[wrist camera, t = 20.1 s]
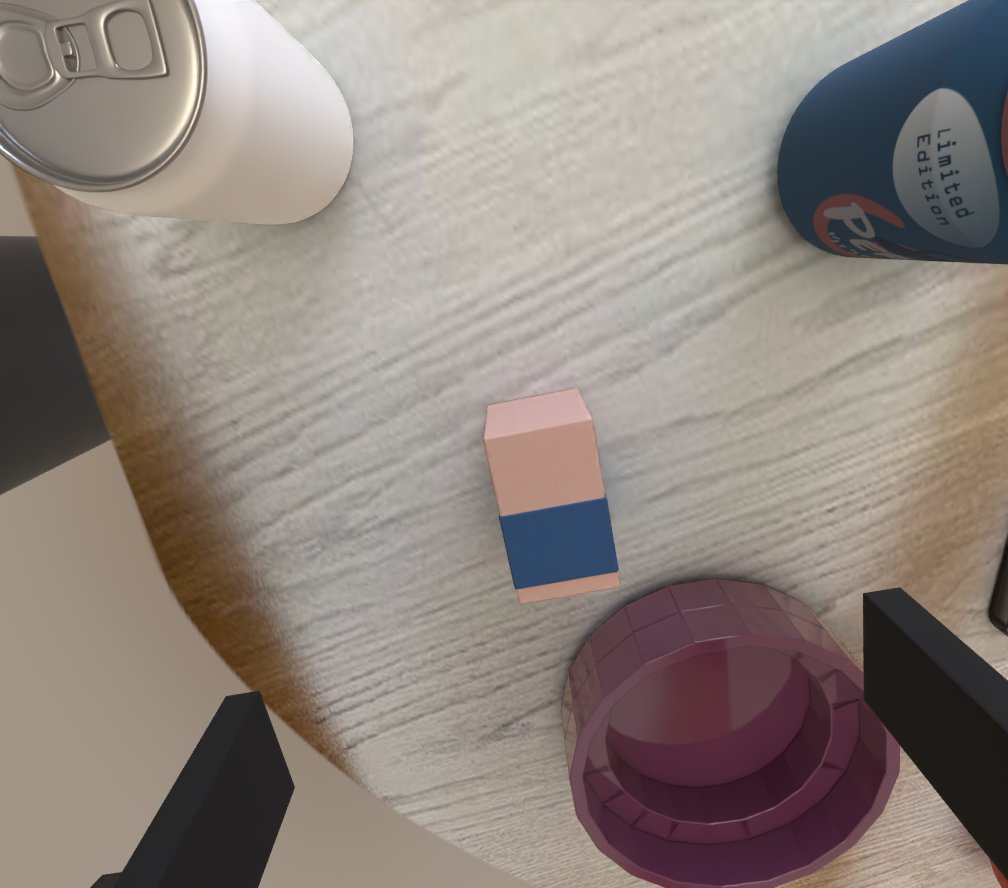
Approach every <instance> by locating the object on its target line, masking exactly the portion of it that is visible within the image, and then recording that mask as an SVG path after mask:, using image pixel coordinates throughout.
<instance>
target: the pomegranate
mask: <svg viewBox="0 0 1008 888" xmlns="http://www.w3.org/2000/svg"><path fill="white" fill-rule="evenodd" d="M990 861H991V865H992V868H993V871H994V874H995V876H996V878H997V880H998V882H999V883H1000V885H1001V887H1002V888H1008V881H1007V879H1006V878H1005V877H1004V876H1003V874H1002V873H1001V872H1000V871H999V869H998V868H997V867H996V866H995V864H994V863H993V862H992V860H991V859H990Z"/></svg>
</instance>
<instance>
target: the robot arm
mask: <svg viewBox="0 0 1008 888" xmlns="http://www.w3.org/2000/svg"><path fill="white" fill-rule="evenodd" d="M863 653H864V701H865V702H866V703H867V704H868V706H869V707H870V708H871V709H872V711H873V712H874V713H875V715H876V716H877V717H878V718H879V720H880V721H881V722H882V723H883V725H884V726H885V727H886V728H887V730H888V731H889V732H890V733H891V735H892V736H893V737H894V738H895V740H896V741H897V742H898V743H899V745H900V746H901V747H902V748H903V750H904V751H905V752H906V754H907V755H908V756H909V757H910V759H911V760H912V761H913V762H914V764H915V765H916V766H917V767H918V769H919V770H920V771H921V772H922V774H923V775H924V776H925V777H926V779H927V780H928V781H929V782H930V784H931V785H932V786H933V788H934V789H935V790H936V791H937V793H938V794H939V795H940V796H941V798H942V799H943V800H944V801H945V803H946V804H947V805H948V806H949V808H950V809H951V810H952V811H953V813H954V814H955V815H956V816H957V818H958V819H959V820H960V821H961V823H962V824H963V825H964V827H965V828H966V829H967V830H968V832H969V833H970V834H971V835H972V837H973V838H974V839H975V840H976V842H977V843H978V844H979V845H980V847H981V848H982V849H983V850H984V852H985V853H986V854H987V855H988V857H989V858H990V859H991V860H992V862H993V863H994V864H995V866H996V867H997V868H998V869H999V871H1000V872H1001V873H1002V874H1003V876H1004V877H1005V878H1006V879H1007V881H1008V681H1007V680H1006V679H1005V678H1004V677H1003V676H1002V675H1001V674H999V673H998V672H997V671H996V670H995V669H994V668H992V667H991V666H990V665H989V664H988V663H987V662H986V661H984V660H983V659H982V658H981V657H980V656H979V655H977V654H976V653H975V652H974V651H973V650H972V649H971V648H969V647H968V646H967V645H966V644H965V643H964V642H962V641H961V640H960V639H959V638H958V637H957V636H956V635H954V634H953V633H952V632H951V631H950V630H949V629H947V628H946V627H945V626H944V625H943V624H942V623H941V622H939V621H938V620H937V619H936V618H935V617H934V616H932V615H931V614H930V613H929V612H928V611H927V610H926V609H924V608H923V607H922V606H921V605H920V604H919V603H917V602H916V601H915V600H914V599H913V598H912V597H911V596H909V595H908V594H907V593H906V592H905V591H904V590H902V589H901V588H900V587H899V588H893V589H887V590H881V591H875V592H869V593H863ZM294 788H295V786H294V784H293V781H292V778H291V776H290V773H289V770H288V767H287V765H286V762H285V759H284V756H283V753H282V751H281V748H280V745H279V743H278V740H277V737H276V734H275V732H274V729H273V726H272V724H271V721H270V718H269V715H268V713H267V710H266V707H265V704H264V701H263V699H262V696H261V693H260V691H255V692H249V693H243V694H237V695H231V696H226V697H225V699H224V701H223V702H222V704H221V706H220V707H219V709H218V711H217V712H216V714H215V716H214V717H213V719H212V721H211V723H210V724H209V726H208V728H207V729H206V731H205V733H204V734H203V736H202V738H201V739H200V741H199V743H198V744H197V746H196V748H195V750H194V751H193V753H192V755H191V756H190V758H189V760H188V762H187V763H186V765H185V767H184V768H183V770H182V772H181V773H180V775H179V777H178V778H177V780H176V782H175V783H174V785H173V787H172V789H171V790H170V792H169V794H168V795H167V797H166V799H165V800H164V802H163V804H162V805H161V807H160V809H159V811H158V812H157V814H156V816H155V817H154V819H153V821H152V822H151V824H150V826H149V827H148V829H147V831H146V833H145V834H144V836H143V838H142V839H141V841H140V843H139V845H138V846H137V848H136V850H135V851H134V853H133V855H132V856H131V858H130V860H129V862H128V863H127V865H126V866H125V868H124V870H123V871H122V872H120V873H113V874H106V875H102V876H101V877H100V878H99V879H98V880H97V881H96V882H95V883H94V884H93V885H92V886H91V888H258V886H259V884H260V881H261V878H262V875H263V873H264V870H265V867H266V864H267V862H268V859H269V856H270V853H271V851H272V848H273V845H274V842H275V840H276V837H277V835H278V832H279V829H280V826H281V823H282V821H283V818H284V815H285V813H286V810H287V807H288V804H289V802H290V799H291V796H292V794H293V791H294Z"/></svg>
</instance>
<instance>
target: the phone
mask: <svg viewBox="0 0 1008 888" xmlns="http://www.w3.org/2000/svg"><path fill="white" fill-rule="evenodd" d="M990 619H991V622H992V623H993V624H994V626H995V627H996V628H998V629H999V630H1000V631H1002V632H1003V633H1004V634H1005V635H1007V636H1008V546H1007V550H1006V554H1005V557H1004V561H1003V565H1002V568H1001V572H1000V576H999V580H998V583H997V587H996V591H995V594H994V598H993V602H992V606H991V609H990Z"/></svg>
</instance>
